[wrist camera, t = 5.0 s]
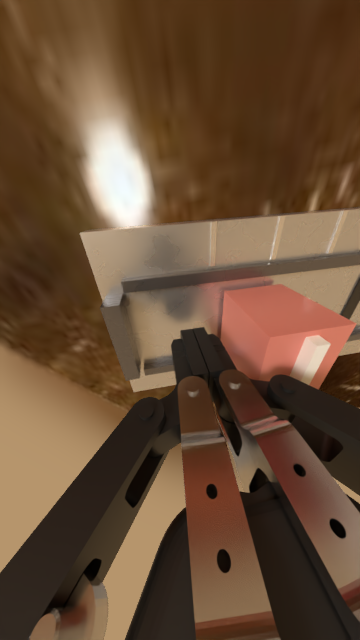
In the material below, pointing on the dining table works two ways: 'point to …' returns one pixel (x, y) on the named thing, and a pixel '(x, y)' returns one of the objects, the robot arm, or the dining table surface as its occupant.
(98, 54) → the dining table surface
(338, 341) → the fader knob
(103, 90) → the dining table surface
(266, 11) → the dining table surface
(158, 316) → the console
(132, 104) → the dining table surface
